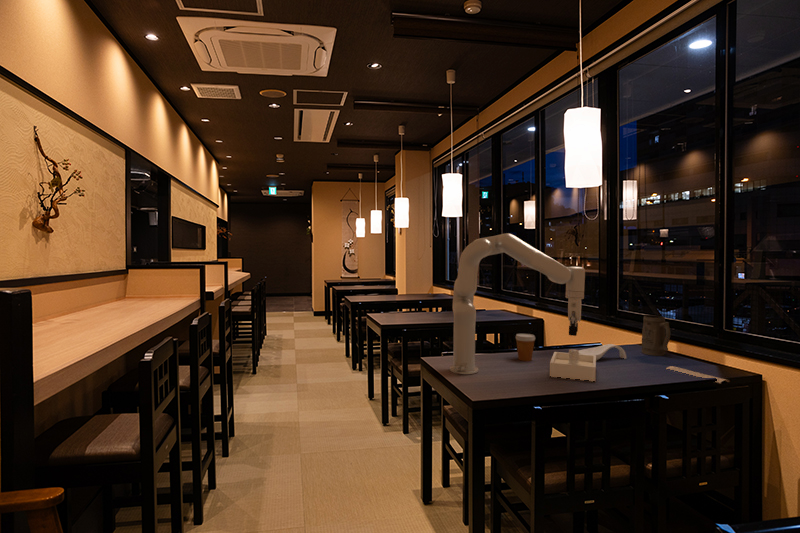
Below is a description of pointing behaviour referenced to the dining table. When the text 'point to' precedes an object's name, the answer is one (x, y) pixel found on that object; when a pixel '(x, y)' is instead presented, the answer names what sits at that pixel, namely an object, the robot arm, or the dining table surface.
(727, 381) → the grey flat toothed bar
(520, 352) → the disposable coffee cup
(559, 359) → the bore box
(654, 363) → the dining table surface
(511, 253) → the robot arm
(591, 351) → the spoon rest
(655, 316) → the beer stein
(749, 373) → the dining table surface
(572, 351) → the small plastic bottle
